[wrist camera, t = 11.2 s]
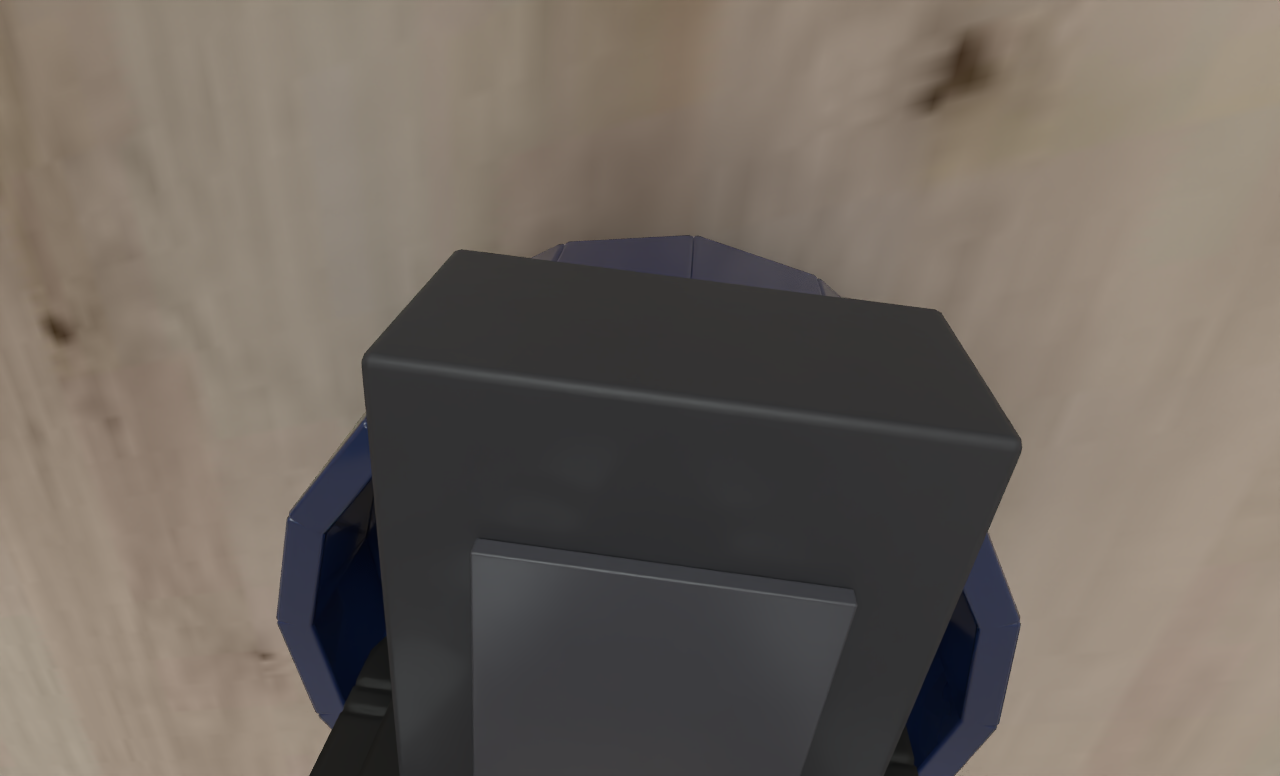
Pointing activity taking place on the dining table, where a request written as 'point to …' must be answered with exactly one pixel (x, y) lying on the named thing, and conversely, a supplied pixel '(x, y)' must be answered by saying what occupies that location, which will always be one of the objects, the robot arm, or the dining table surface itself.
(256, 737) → the dining table surface
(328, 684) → the bowl
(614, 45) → the dining table surface
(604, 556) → the door
